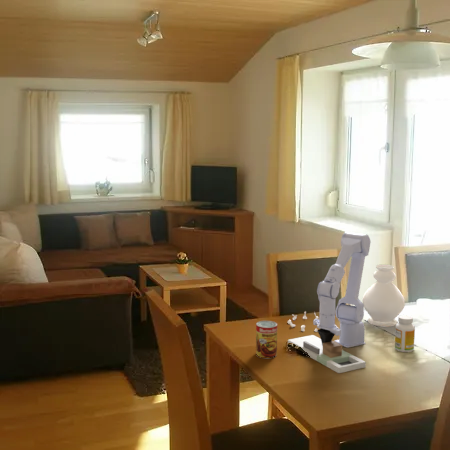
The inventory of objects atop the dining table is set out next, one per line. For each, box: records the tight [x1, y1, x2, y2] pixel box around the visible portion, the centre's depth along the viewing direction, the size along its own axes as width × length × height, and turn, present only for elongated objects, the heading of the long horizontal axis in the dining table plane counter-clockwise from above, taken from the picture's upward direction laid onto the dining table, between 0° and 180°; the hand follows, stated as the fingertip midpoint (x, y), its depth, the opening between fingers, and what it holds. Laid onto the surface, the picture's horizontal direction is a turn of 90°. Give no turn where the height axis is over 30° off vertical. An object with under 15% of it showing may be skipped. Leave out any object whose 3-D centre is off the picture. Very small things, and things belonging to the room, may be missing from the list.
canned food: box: [255, 320, 278, 358], centre depth 238 cm, size 8×8×12 cm
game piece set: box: [287, 311, 319, 333], centre depth 273 cm, size 19×20×4 cm
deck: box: [287, 334, 367, 374], centre depth 238 cm, size 12×32×4 cm, turn 28°
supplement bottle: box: [394, 314, 416, 353], centre depth 243 cm, size 7×7×13 cm
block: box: [323, 340, 343, 358], centre depth 233 cm, size 5×5×4 cm
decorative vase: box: [362, 263, 406, 328], centre depth 275 cm, size 18×18×25 cm
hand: (326, 348), depth 237 cm, fingers closed
